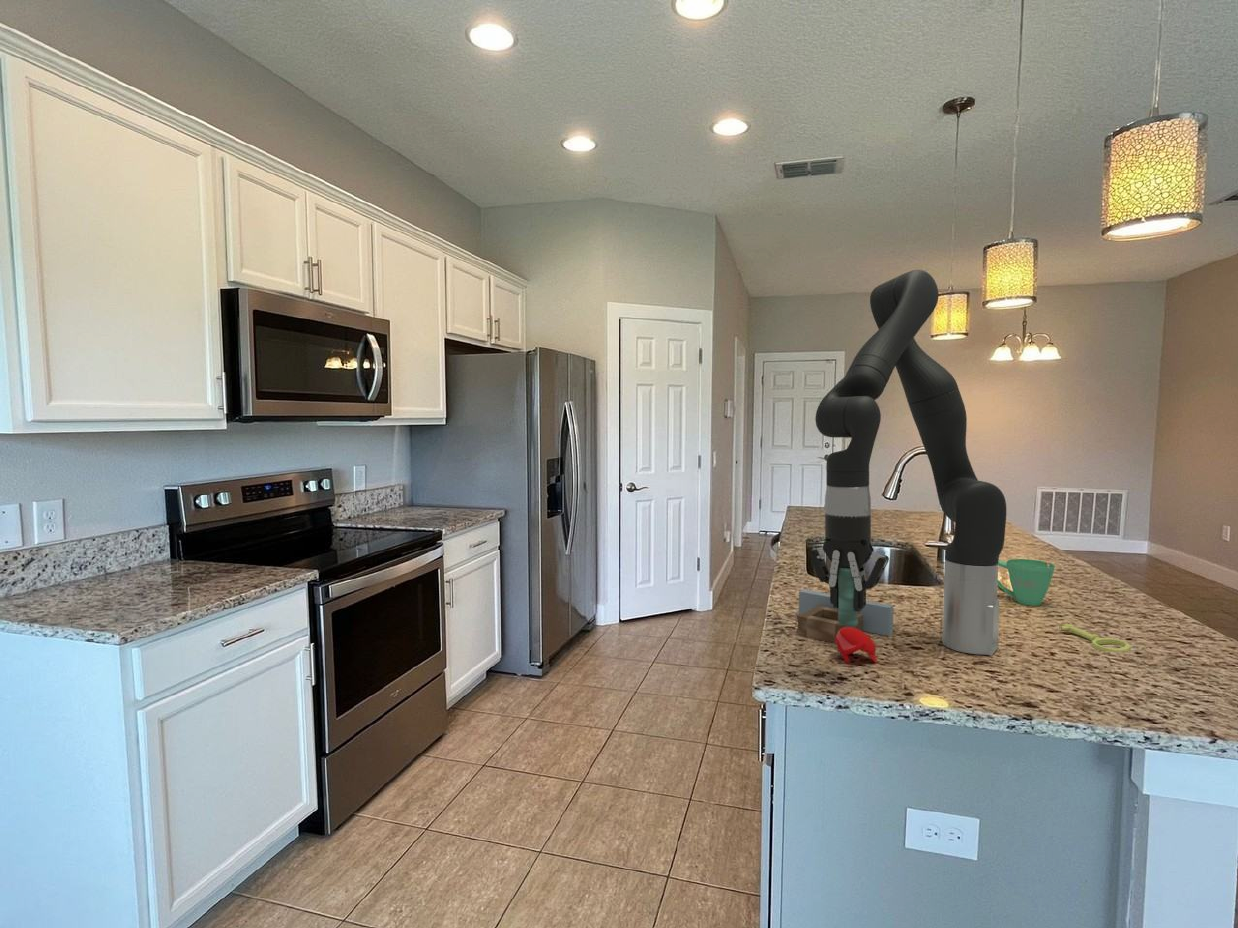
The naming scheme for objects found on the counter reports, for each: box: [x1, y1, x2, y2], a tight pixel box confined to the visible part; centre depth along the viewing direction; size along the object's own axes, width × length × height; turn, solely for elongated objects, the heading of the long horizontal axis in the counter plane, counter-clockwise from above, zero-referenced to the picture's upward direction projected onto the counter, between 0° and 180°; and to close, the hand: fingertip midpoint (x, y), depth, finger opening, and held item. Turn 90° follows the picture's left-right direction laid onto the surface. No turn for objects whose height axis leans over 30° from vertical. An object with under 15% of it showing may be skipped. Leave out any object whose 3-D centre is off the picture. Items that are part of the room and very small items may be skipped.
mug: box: [997, 558, 1056, 607], centre depth 155 cm, size 15×10×10 cm
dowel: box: [838, 567, 858, 626], centre depth 109 cm, size 3×3×10 cm
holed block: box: [797, 605, 864, 644], centre depth 131 cm, size 10×10×4 cm
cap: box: [835, 627, 878, 664], centre depth 117 cm, size 8×6×6 cm
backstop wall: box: [798, 589, 894, 637], centre depth 137 cm, size 20×2×6 cm, turn 49°
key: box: [1058, 623, 1131, 653], centre depth 126 cm, size 7×12×2 cm, turn 31°
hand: (847, 608), depth 109 cm, fingers closed on dowel, 3 cm apart
